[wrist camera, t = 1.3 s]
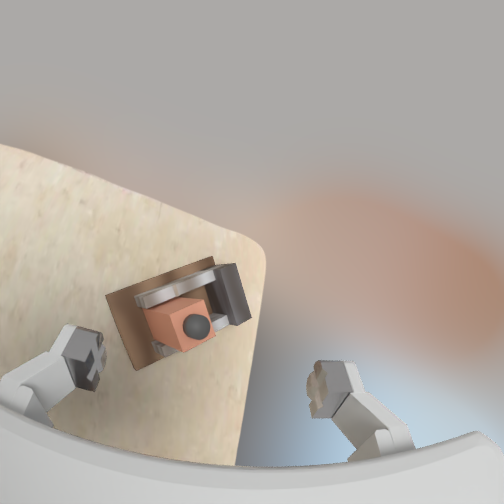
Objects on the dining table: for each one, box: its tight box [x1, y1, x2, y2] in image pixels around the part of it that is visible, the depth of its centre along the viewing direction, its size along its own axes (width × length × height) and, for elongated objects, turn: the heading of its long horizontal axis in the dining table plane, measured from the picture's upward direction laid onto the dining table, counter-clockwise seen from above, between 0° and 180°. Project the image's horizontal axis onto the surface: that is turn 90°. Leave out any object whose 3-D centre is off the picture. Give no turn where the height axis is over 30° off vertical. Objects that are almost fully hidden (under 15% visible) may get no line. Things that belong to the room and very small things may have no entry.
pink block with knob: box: [142, 297, 216, 353], centre depth 39 cm, size 5×5×12 cm
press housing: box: [105, 256, 252, 371], centre depth 43 cm, size 19×12×7 cm, turn 110°
